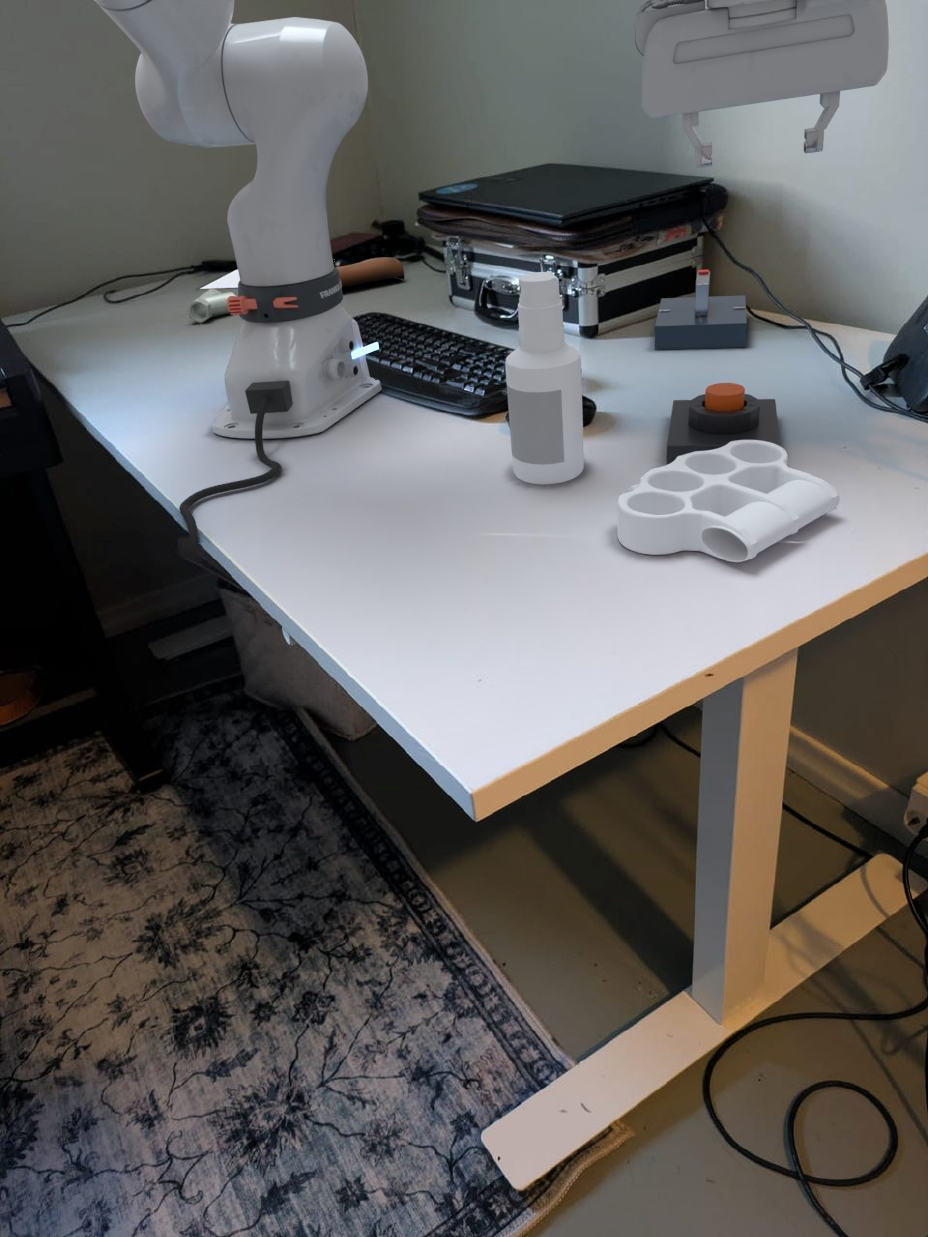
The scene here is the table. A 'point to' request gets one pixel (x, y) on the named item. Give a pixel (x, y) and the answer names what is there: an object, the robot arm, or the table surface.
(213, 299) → the pipe fitting
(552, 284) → the spray bottle
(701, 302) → the upright grey plate
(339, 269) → the sunglasses case
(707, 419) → the release housing
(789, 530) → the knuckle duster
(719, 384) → the release button
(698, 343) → the grey flat block
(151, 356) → the table surface
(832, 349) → the table surface
